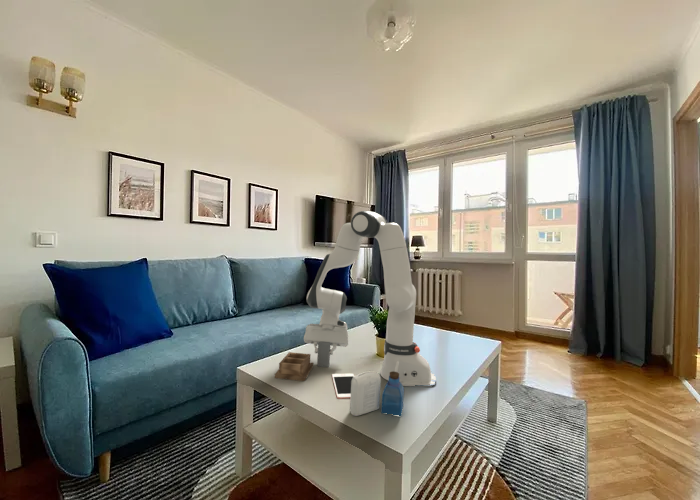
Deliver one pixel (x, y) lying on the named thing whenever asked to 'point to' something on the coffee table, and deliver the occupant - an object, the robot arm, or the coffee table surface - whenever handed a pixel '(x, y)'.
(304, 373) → the box
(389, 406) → the perfume bottle
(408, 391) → the coffee table surface
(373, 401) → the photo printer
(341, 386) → the cell phone
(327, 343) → the charcoal card
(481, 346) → the coffee table surface
